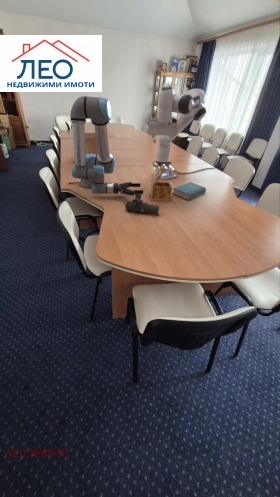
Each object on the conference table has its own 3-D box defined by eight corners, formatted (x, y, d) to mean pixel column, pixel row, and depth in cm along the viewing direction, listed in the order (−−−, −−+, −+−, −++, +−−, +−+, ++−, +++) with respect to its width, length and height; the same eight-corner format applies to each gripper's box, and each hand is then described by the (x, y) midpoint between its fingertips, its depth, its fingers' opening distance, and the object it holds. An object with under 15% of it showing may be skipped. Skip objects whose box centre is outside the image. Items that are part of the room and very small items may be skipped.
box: (116, 165, 229) (116, 136, 213) (83, 168, 214) (80, 137, 198) (102, 154, 259) (101, 128, 243) (71, 156, 244) (68, 129, 228)
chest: (167, 195, 174) (169, 182, 168) (169, 200, 166) (172, 187, 160) (150, 194, 173) (151, 181, 167) (151, 200, 165) (153, 186, 159)
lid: (164, 164, 160) (155, 157, 156) (166, 168, 152) (157, 161, 148) (152, 181, 167) (142, 174, 163) (153, 186, 159) (144, 179, 155)
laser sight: (156, 217, 143) (158, 203, 137) (123, 212, 146) (123, 198, 140) (159, 211, 151) (160, 197, 145) (127, 206, 154) (127, 192, 148)
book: (188, 187, 190) (190, 182, 187) (205, 193, 181) (206, 187, 178) (172, 193, 177) (173, 187, 174) (188, 200, 168) (190, 194, 165)
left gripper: (112, 187, 173) (139, 187, 176) (113, 200, 154) (143, 200, 157) (112, 177, 169) (139, 177, 172) (113, 190, 149) (144, 190, 152)
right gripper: (149, 118, 134) (147, 143, 142) (180, 120, 138) (177, 144, 146) (146, 117, 139) (145, 141, 147) (177, 118, 142) (174, 142, 151)
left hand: (141, 188), depth 164 cm, fingers open, 13 cm apart
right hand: (161, 142), depth 146 cm, fingers open, 8 cm apart
